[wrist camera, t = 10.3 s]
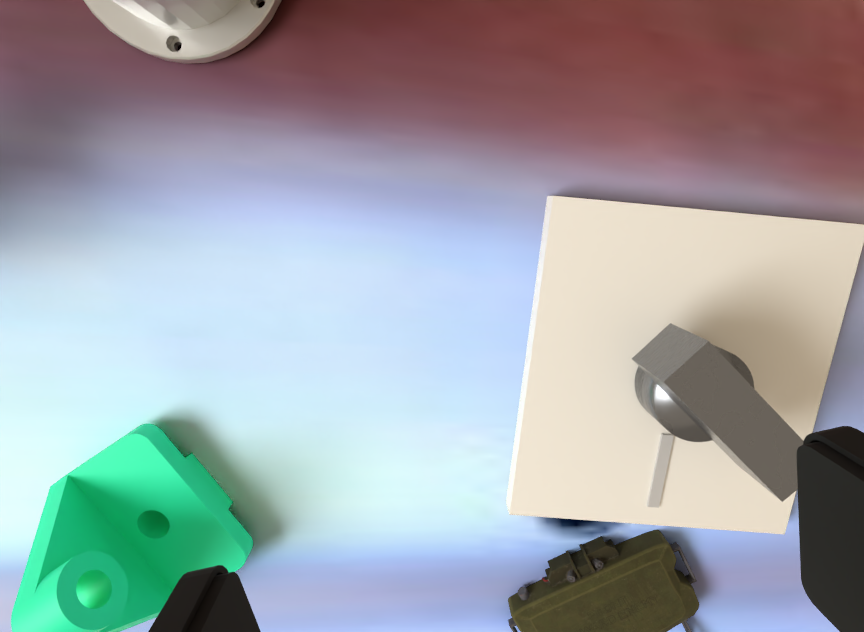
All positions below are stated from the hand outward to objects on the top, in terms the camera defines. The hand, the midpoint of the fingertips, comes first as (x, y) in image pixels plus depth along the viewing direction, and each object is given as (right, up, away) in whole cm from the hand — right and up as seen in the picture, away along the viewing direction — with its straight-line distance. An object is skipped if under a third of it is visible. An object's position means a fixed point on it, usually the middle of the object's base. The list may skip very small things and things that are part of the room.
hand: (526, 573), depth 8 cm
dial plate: (+15, 0, +26) cm, 30 cm away
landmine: (+13, -20, +31) cm, 39 cm away
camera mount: (-21, -9, +28) cm, 36 cm away
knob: (+16, -1, +25) cm, 30 cm away
